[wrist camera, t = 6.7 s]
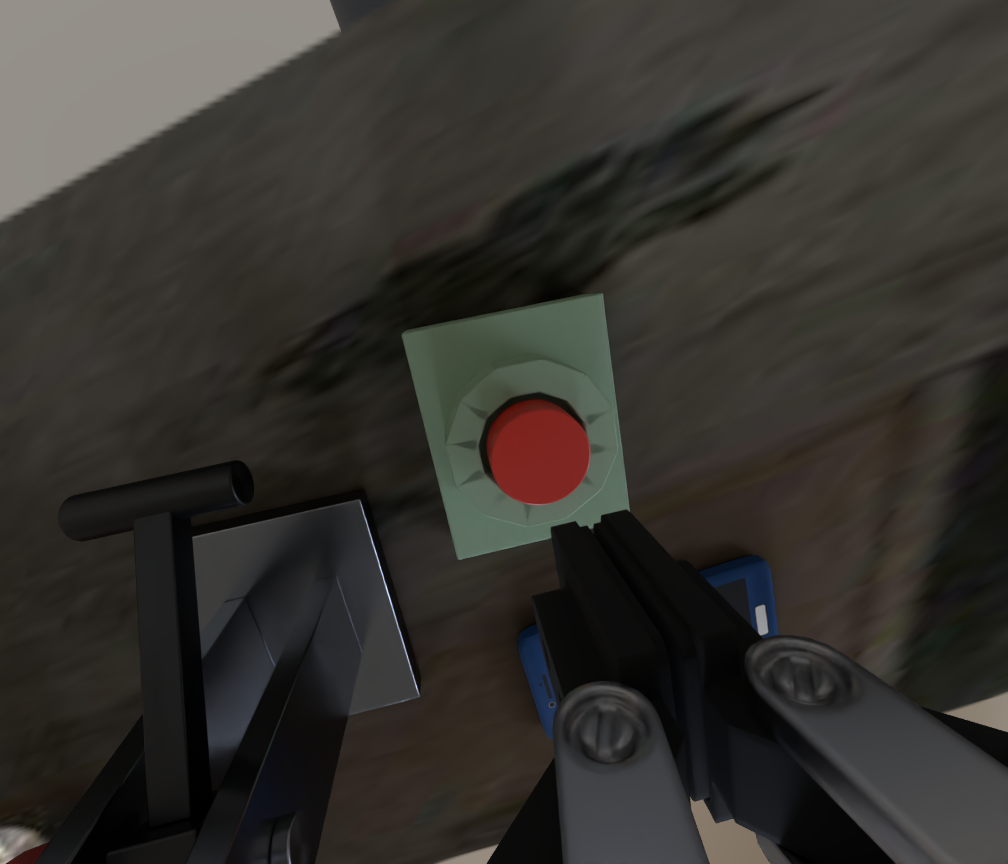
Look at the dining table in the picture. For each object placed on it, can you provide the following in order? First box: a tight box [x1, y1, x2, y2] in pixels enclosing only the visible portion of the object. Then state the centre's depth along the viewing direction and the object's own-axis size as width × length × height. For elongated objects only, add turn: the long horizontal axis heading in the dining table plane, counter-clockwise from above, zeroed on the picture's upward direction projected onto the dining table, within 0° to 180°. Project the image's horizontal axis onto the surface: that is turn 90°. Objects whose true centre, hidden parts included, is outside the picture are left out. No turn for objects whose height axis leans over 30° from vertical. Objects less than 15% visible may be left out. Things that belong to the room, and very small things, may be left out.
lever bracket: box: [34, 489, 421, 864], centre depth 17 cm, size 11×9×13 cm
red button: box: [486, 399, 591, 505], centre depth 17 cm, size 4×4×2 cm
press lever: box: [59, 460, 254, 864], centre depth 13 cm, size 12×5×2 cm
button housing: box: [402, 293, 630, 560], centre depth 20 cm, size 10×8×4 cm
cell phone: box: [518, 556, 779, 740], centre depth 26 cm, size 7×14×1 cm, turn 105°
